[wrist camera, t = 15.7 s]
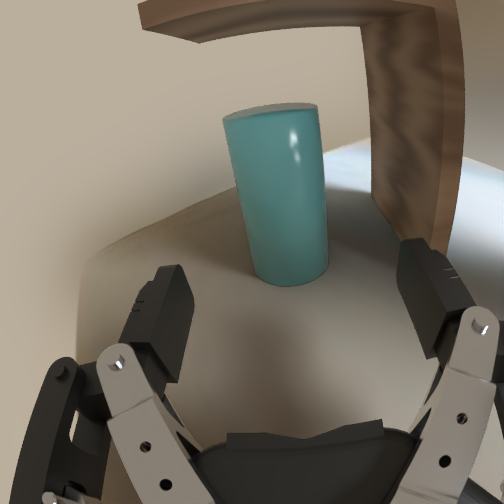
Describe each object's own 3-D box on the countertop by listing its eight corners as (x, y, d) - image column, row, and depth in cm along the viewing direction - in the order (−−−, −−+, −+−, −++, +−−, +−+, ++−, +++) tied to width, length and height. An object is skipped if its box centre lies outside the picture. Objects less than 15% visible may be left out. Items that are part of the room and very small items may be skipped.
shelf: (440, 276, 18) (452, -12, 7) (219, 304, 20) (137, 4, 9) (384, 194, 28) (373, 12, 18) (235, 211, 30) (195, 28, 20)
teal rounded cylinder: (284, 233, 26) (264, 103, 19) (342, 252, 22) (334, 103, 16) (238, 269, 23) (203, 123, 16) (299, 297, 19) (278, 122, 13)
